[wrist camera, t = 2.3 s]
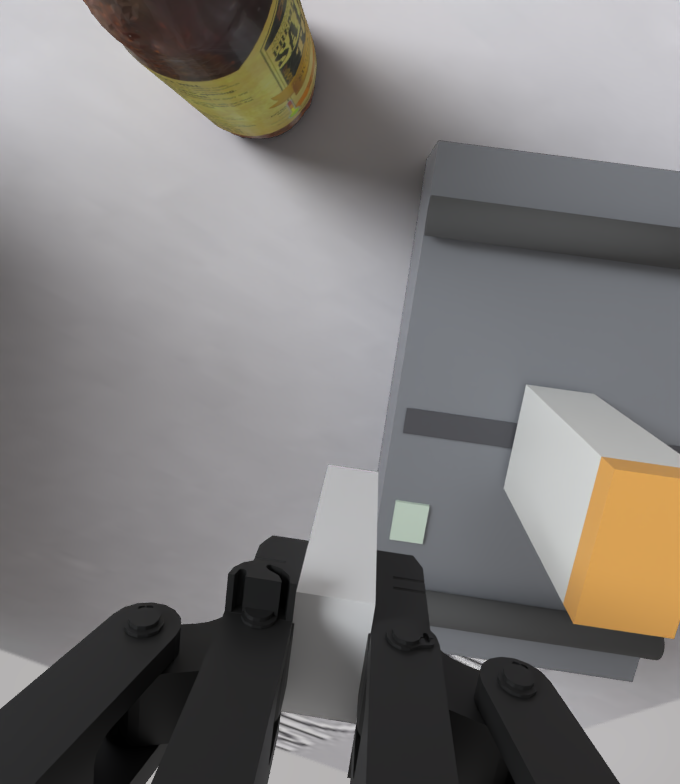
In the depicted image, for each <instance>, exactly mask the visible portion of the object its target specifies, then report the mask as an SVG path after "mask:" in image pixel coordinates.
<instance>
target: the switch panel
mask: <svg viewBox="0 0 680 784" xmlns="http://www.w3.org/2000/svg"><path fill="white" fill-rule="evenodd" d="M431 195H435V196H443V197H451V198H458V199H466V200H473V201H481V202H489V203H496V204H504V205H511V206H519V207H527V208H534V209H542V210H549V211H557V212H564V213H572V214H580V215H587V216H595V217H602V218H610V219H618V220H625V221H633V222H640V223H648V224H655V225H663V226H671V227H678V228H680V171H672V170H664V169H657V168H649V167H641V166H634V165H626V164H618V163H610V162H603V161H595V160H587V159H579V158H572V157H564V156H556V155H548V154H541V153H533V152H525V151H518V150H510V149H502V148H494V147H487V146H479V145H471V144H463V143H456V142H448V141H440V140H439V141H438V142H437V144H436V145H435V147H434V149H433V150H432V152H431V154H430V155H429V157H428V159H427V161H426V167H425V173H424V180H423V186H422V193H421V199H420V205H419V212H418V218H417V224H416V231H415V237H414V244H413V250H412V256H411V263H410V269H409V275H408V282H407V288H406V294H405V301H404V307H403V314H402V320H401V326H400V333H399V339H398V345H397V352H396V358H395V365H394V371H393V377H392V384H391V390H390V396H389V403H388V409H387V416H386V422H385V428H384V435H383V441H382V447H381V454H380V460H379V467H378V512H377V550H380V551H387V552H393V553H400V554H406V555H413V556H414V557H415V559H416V560H417V561H418V562H419V564H420V565H421V566H422V568H423V573H424V583H425V589H426V590H429V591H436V592H442V593H449V594H456V595H462V596H469V597H476V598H483V599H489V600H496V601H503V602H509V603H516V604H523V605H529V606H536V607H543V608H549V609H556V610H563V611H567V610H566V609H565V607H564V605H563V603H562V601H561V599H560V597H559V595H558V593H557V591H556V589H555V587H554V585H553V583H552V581H551V579H550V577H549V575H548V574H547V572H546V570H545V568H544V566H543V564H542V562H541V560H540V558H539V556H538V554H537V552H536V550H535V548H534V546H533V544H532V542H531V540H530V538H529V537H528V535H527V533H526V531H525V529H524V527H523V525H522V523H521V521H520V519H519V517H518V515H517V513H516V511H515V509H514V507H513V505H512V503H511V501H510V500H509V498H508V496H507V494H506V492H505V490H504V484H505V479H506V475H507V470H508V466H509V461H510V456H511V452H512V447H513V443H514V438H515V433H516V429H517V424H518V420H519V415H520V410H521V406H522V401H523V397H524V392H525V387H526V384H527V385H534V386H541V387H548V388H555V389H562V390H570V391H577V392H584V393H591V394H595V395H596V396H598V397H599V398H601V399H602V400H603V401H605V402H606V403H608V404H609V405H611V406H612V407H613V408H615V409H616V410H618V411H619V412H621V413H622V414H623V415H625V416H626V417H628V418H629V419H630V420H632V421H633V422H635V423H636V424H638V425H639V426H640V427H642V428H643V429H645V430H646V431H648V432H649V433H650V434H652V435H653V436H655V437H656V438H658V439H659V440H660V441H662V442H663V443H665V444H666V445H667V446H669V447H670V448H672V449H673V450H675V451H676V452H677V453H679V454H680V270H679V269H671V268H664V267H656V266H649V265H641V264H634V263H626V262H619V261H611V260H604V259H596V258H589V257H582V256H574V255H567V254H559V253H552V252H544V251H537V250H529V249H522V248H514V247H507V246H499V245H492V244H484V243H477V242H469V241H462V240H454V239H447V238H439V237H432V236H425V235H424V233H425V223H426V216H427V210H428V205H429V201H430V197H431ZM430 630H431V631H432V632H433V633H434V634H435V635H436V637H437V639H438V642H439V644H440V650H441V651H442V652H443V653H445V654H452V655H459V656H465V657H472V658H478V659H485V660H489V659H490V658H496V657H508V658H515V659H518V660H520V661H523V662H526V663H528V664H530V665H532V666H533V667H537V668H544V669H551V670H557V671H564V672H570V673H577V674H583V675H590V676H596V677H603V678H610V679H616V680H623V681H629V682H633V678H634V675H635V672H636V668H637V665H638V662H639V659H640V658H639V657H632V656H626V655H619V654H613V653H606V652H599V651H593V650H586V649H580V648H573V647H566V646H560V645H553V644H546V643H540V642H533V641H527V640H520V639H513V638H507V637H500V636H494V635H487V634H480V633H474V632H467V631H461V630H454V629H447V628H441V627H434V626H430Z"/></svg>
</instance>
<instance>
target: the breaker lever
mask: <svg viewBox="0 0 680 784" xmlns="http://www.w3.org/2000/svg"><path fill="white" fill-rule="evenodd" d="M504 490H505V492H506V494H507V496H508V498H509V500H510V501H511V503H512V505H513V507H514V509H515V511H516V513H517V515H518V517H519V519H520V521H521V523H522V525H523V527H524V529H525V531H526V533H527V535H528V537H529V538H530V540H531V542H532V544H533V546H534V548H535V550H536V552H537V554H538V556H539V558H540V560H541V562H542V564H543V566H544V568H545V570H546V572H547V574H548V575H549V577H550V579H551V581H552V583H553V585H554V587H555V589H556V591H557V593H558V595H559V597H560V599H561V601H562V603H563V605H564V607H565V609H566V610H567V612H568V614H569V616H570V618H571V620H572V622H573V624H578V625H585V626H591V627H598V628H605V629H611V630H618V631H624V632H631V633H638V634H644V635H651V636H658V637H664V638H671V639H674V638H675V634H676V631H677V628H678V625H679V622H680V454H679V453H677V452H676V451H675V450H673V449H672V448H670V447H669V446H667V445H666V444H665V443H663V442H662V441H660V440H659V439H658V438H656V437H655V436H653V435H652V434H650V433H649V432H648V431H646V430H645V429H643V428H642V427H640V426H639V425H638V424H636V423H635V422H633V421H632V420H630V419H629V418H628V417H626V416H625V415H623V414H622V413H621V412H619V411H618V410H616V409H615V408H613V407H612V406H611V405H609V404H608V403H606V402H605V401H603V400H602V399H601V398H599V397H598V396H596V395H595V394H591V393H584V392H577V391H570V390H562V389H555V388H548V387H541V386H534V385H527V384H526V387H525V392H524V397H523V401H522V406H521V410H520V415H519V420H518V424H517V429H516V433H515V438H514V443H513V447H512V452H511V456H510V461H509V466H508V470H507V475H506V479H505V484H504Z"/></svg>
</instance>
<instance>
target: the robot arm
mask: <svg viewBox="0 0 680 784" xmlns="http://www.w3.org/2000/svg"><path fill="white" fill-rule="evenodd" d="M377 512H378V472H375V471H368V470H362V469H355V468H348V467H342V466H335V465H328V467H327V471H326V475H325V479H324V483H323V487H322V491H321V495H320V499H319V503H318V507H317V511H316V515H315V519H314V523H313V527H312V531H311V535H310V539H309V541H305V540H299V539H292V538H286V537H279V536H271V537H270V538H268V539H267V540H266V541H264V542H263V543H262V544H260V546H259V549H258V551H257V553H256V556H255V559H254V561H249V562H243V563H241V564H239V565H237V566H235V567H234V568H233V569H232V570H231V571H230V572H229V573H228V582H227V593H226V604H225V612H224V614H223V617H221V618H219V619H216V620H213V621H210V622H205V623H198V624H183V625H181V618H180V616H179V615H178V614H177V612H176V611H175V610H174V609H172V608H170V607H168V606H166V605H163V604H157V603H138V604H134V605H131V606H127V607H124V608H123V609H121V610H119V611H118V612H116V613H114V614H113V615H112V616H110V617H109V618H108V619H107V620H106V621H105V622H103V623H102V624H101V625H100V626H99V627H97V628H96V629H95V630H94V631H93V632H91V633H90V634H89V635H88V636H87V637H85V638H84V639H83V640H82V641H81V642H80V643H78V644H77V645H76V646H75V647H74V648H72V649H71V650H70V651H69V652H68V653H66V654H65V655H64V656H63V657H62V658H60V659H59V660H58V661H57V662H56V663H55V664H53V665H52V666H51V667H50V668H49V669H47V670H46V671H45V672H44V673H43V674H42V675H40V676H39V677H38V678H37V679H35V680H34V681H33V682H32V683H31V684H30V685H28V686H27V687H26V688H25V689H24V690H22V691H21V692H20V693H19V694H18V695H17V696H15V697H14V698H13V699H12V700H10V701H9V702H8V703H7V704H6V705H5V706H3V707H2V708H1V709H0V784H146V782H147V781H148V779H149V778H150V777H151V775H152V774H153V773H154V771H155V770H156V768H157V767H158V766H159V767H158V769H157V771H156V774H155V776H154V778H153V781H152V783H151V784H267V783H268V778H269V774H270V769H271V765H272V760H273V755H274V750H275V746H276V741H277V736H278V730H279V722H280V714H281V712H287V713H294V714H300V715H306V716H312V717H318V718H324V719H330V720H336V721H342V722H348V723H354V724H356V729H355V735H354V741H353V747H352V753H351V759H350V765H349V771H348V777H347V778H351V781H350V784H620V783H619V782H618V781H617V779H616V777H615V776H614V774H613V773H612V772H611V770H610V768H609V767H608V766H607V764H606V763H605V761H604V760H603V758H602V757H601V755H600V754H599V752H598V751H597V749H596V748H595V746H594V745H593V744H592V742H591V741H590V739H589V738H588V736H587V735H586V733H585V732H584V730H583V729H582V727H581V726H580V724H579V723H578V721H577V720H576V718H575V717H574V716H573V714H572V713H571V711H570V710H569V708H568V707H567V705H566V704H565V702H564V701H563V699H562V698H561V696H560V695H559V693H558V692H557V691H556V689H555V688H554V686H553V685H552V683H551V682H550V681H549V680H548V679H547V677H546V676H545V675H544V674H543V673H542V672H541V671H539V670H538V669H536V668H535V667H533V666H532V665H530V664H528V663H526V662H523V661H520V660H518V659H515V658H508V657H496V658H490V659H489V660H487V661H486V662H484V663H483V664H482V666H481V669H480V671H479V670H477V669H474V668H471V667H469V666H466V665H464V664H462V663H460V662H458V661H455V660H453V659H452V658H450V657H449V656H447V655H446V654H445V653H443V652H442V651H441V650H440V644H439V642H438V639H437V637H436V635H435V634H434V633H433V632H432V631H431V630H430V622H429V614H428V606H427V598H426V589H425V583H424V573H423V568H422V566H421V565H420V564H419V562H418V561H417V560H416V559H415V557H414V556H413V555H406V554H400V553H393V552H387V551H380V550H377ZM356 718H357V723H356Z"/></svg>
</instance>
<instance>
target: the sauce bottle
mask: <svg viewBox="0 0 680 784" xmlns="http://www.w3.org/2000/svg"><path fill="white" fill-rule="evenodd" d="M83 1H84V2H85V4H86V5H87V6H88V8H89V9H90V11H91V13H92V14H93V15H94V17H95V18H96V19H97V20H98V22H99V23H100V24H101V26H103V27H104V28H105V29H106V30H107V31H108V32H109V33H110V34H111V35H112V36H113V37H114V38H116V39H117V40H118V41H119V42H121V43H122V44H123V45H124V47H125V48H126V49H127V50H128V52H129V53H130V54H131V55H132V56H133V57H134V58H135V59H136V60H137V61H139V62H140V63H141V64H142V65H143V66H145V67H146V68H147V69H148V70H149V71H151V72H152V73H153V74H154V75H155V76H157V77H158V78H159V79H160V80H162V81H163V82H164V83H165V84H167V85H168V86H169V87H170V88H172V89H173V90H174V91H175V92H176V93H178V94H179V95H180V96H181V97H182V98H184V99H185V100H186V101H187V102H188V103H190V104H191V105H192V106H193V107H194V108H196V109H197V110H198V111H199V112H201V113H202V114H203V115H204V116H206V117H207V118H208V119H209V120H210V121H212V122H213V123H214V124H215V125H216V126H218V127H220V128H222V129H224V130H226V131H229V132H231V133H232V134H234V135H238V136H240V137H243V138H244V137H248V138H270V137H274V136H278V135H280V134H282V133H284V132H286V131H288V130H289V129H291V128H292V127H293V126H294V125H295V124H296V123H297V122H298V121H299V120H300V118H301V117H302V116H303V114H304V113H305V111H306V110H307V109H308V108H309V106H310V103H311V101H312V97H313V92H314V88H315V78H316V70H317V61H316V52H315V47H314V43H313V39H312V36H311V33H310V30H309V27H308V24H307V21H306V18H305V15H304V12H303V9H302V5H301V2H300V0H83Z"/></svg>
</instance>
